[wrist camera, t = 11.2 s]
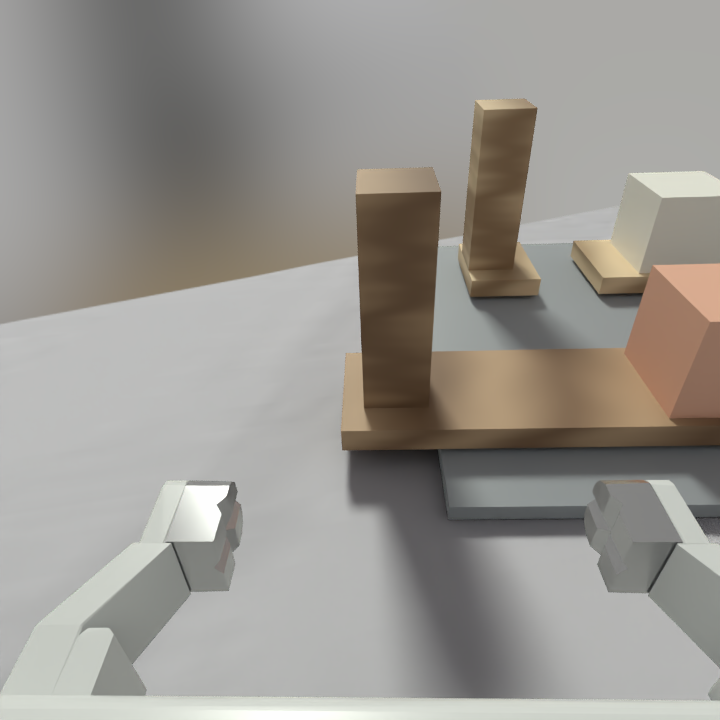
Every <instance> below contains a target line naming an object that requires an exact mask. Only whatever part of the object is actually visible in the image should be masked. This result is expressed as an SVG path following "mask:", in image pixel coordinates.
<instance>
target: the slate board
mask: <svg viewBox="0 0 720 720" xmlns="http://www.w3.org/2000/svg"><path fill="white" fill-rule="evenodd" d="M521 246H522V247H523V249H524V251H525V252H526V254H527V256H528V258H529V259H530V261H531V263H532V264H533V266H534V268H535V269H536V271H537V273H538V275H539V276H540V278H541V283H540V288H539V293H538V295H530V296H486V297H470V295H469V292H468V288H467V285H466V282H465V279H464V276H463V273H462V270H461V267H460V264H459V261H458V250H459V246H442V247H438V255H437V272H436V289H435V307H434V324H433V341H432V352H434V351H485V350H537V349H588V348H626V346H627V343H628V340H629V336H630V333H631V330H632V327H633V324H634V321H635V318H636V315H637V312H638V309H639V306H640V302H641V299H642V296H643V293H619V294H598V292H597V291H596V289H595V288H594V287H593V285H592V284H591V283H590V281H589V280H588V279H587V277H586V276H585V275H584V273H583V272H582V271H581V269H580V268H579V267H578V265H577V264H576V263H575V261H574V260H573V259H572V257H571V256H570V255H571V251H572V246H573V243H559V244H521ZM438 454H439V461H440V468H441V475H442V481H443V488H444V495H445V501H446V508H447V515H448V520H461V519H565V518H584V513H585V510H586V507H587V504H588V503H590V502H591V501H593V500H594V499H595V497H594V495H593V492H592V490H593V488H594V485H595V483H597V482H598V481H599V480H669V481H671V482H672V483H673V484H674V485H675V487H676V488H677V490H678V492H679V493H680V495H681V496H682V498H683V500H684V501H685V503H686V504H687V506H688V508H689V509H690V511H691V513H692V514H693V516H694V517H720V445H701V446H628V447H556V448H483V449H438Z"/></svg>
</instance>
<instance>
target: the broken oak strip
mask: <svg viewBox="0 0 720 720" xmlns="http://www.w3.org/2000/svg"><path fill="white" fill-rule="evenodd" d="M536 114H537V107H535V106H534V105H532V104H531V103H530V102H528V101H527V100H526V99H502V100H500V99H499V100H476V101H475V109H474V121H473V132H472V144H471V154H470V167H469V177H468V189H467V200H466V211H465V223H464V234H463V244H459V250H458V261H459V264H460V267H461V270H462V273H463V276H464V279H465V282H466V285H467V288H468V292H469V295H470V297H486V296H530V295H538V293H539V288H540V283H541V278H540V276H539V275H538V273H537V271H536V269H535V268H534V266H533V264H532V263H531V261H530V259H529V258H528V256H527V254H526V252H525V251H524V249H523V247H522V246H521V244H520V242H517V239H518V232H519V226H520V219H521V212H522V206H523V199H524V193H525V187H526V179H527V173H528V167H529V160H530V154H531V147H532V141H533V134H534V127H535V121H536ZM610 242H611V240H587V241H574V242H573V246H572V251H571V255H570V256H571V257H572V259H573V260H574V261H575V263H576V264H577V265H578V267H579V268H580V269H581V271H582V272H583V273H584V275H585V276H586V277H587V279H588V280H589V281H590V283H591V284H592V285H593V287H594V288H595V289H596V291H597V292H598V294H619V293H644V290H645V287H646V284H647V281H648V278H649V275H650V273H638V272H637V271H636V270H635V269H634V268H633V266H632V265H631V264H630V263H629V262H628V261H627V260H626V259H625V258H624V257H623V256H622V255H621V254H620V253H619V251H618V250H617V249H616V248H615V247H614V246H613V245H612V244H611V243H610Z"/></svg>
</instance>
